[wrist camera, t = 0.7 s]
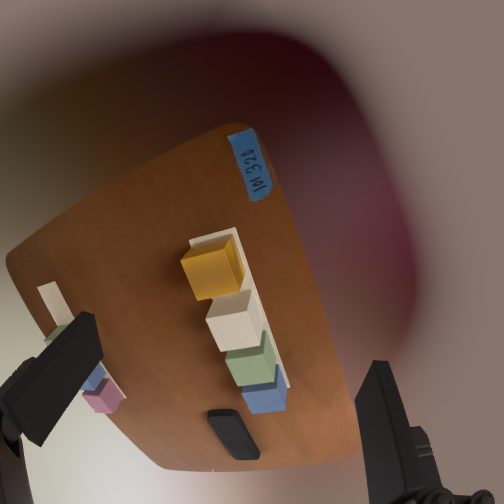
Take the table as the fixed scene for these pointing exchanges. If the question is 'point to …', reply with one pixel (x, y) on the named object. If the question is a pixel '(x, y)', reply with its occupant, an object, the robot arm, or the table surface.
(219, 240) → the block
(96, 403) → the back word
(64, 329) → the robot arm
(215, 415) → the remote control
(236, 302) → the white strip with cubes
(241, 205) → the table surface
